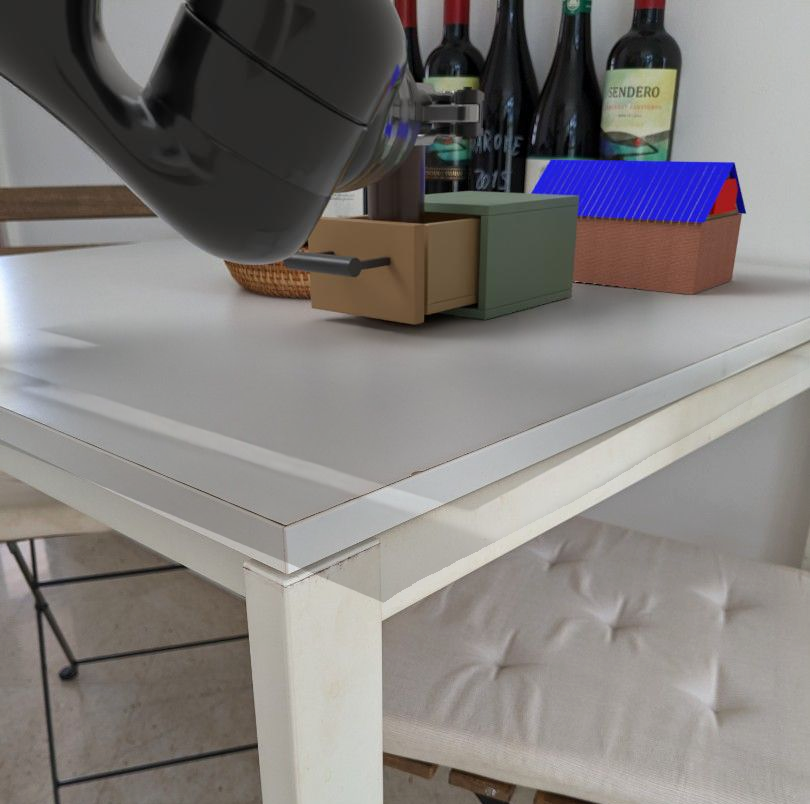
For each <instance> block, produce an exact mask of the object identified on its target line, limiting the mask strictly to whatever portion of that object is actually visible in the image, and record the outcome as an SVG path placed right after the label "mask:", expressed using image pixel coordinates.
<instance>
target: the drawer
mask: <svg viewBox="0 0 810 804" xmlns="http://www.w3.org/2000/svg"><path fill="white" fill-rule="evenodd" d="M481 216H482V215H467V214H451V213H435V212H425V224H417V223H403V222H389V221H376V220H368V214H362V215H360V214H359V215H351V216H340V217H334V216H333V217H332V216H321V218H320V220H319V222H318V223H317V225H316V227H315V229H314V230H313V232H312V234H311V236H310V237H309V239H308V240H307V243H308V245H307V246H308V251H300V250H299V251H298V252H297V253H296V254H294V255H293V256H291V257H290V258H287V259H285V260H282V262H283V265H284V267H285V268H286V269H287V270H293V271H300V272H301V271H302V272H309V282H310V283H309V284H310V285H309V286H310V300H311V301H310V306H311V309H315V310H321V311H325V312H326V311H327V312H333V313H339V314H346V315H353V316H358V317H364V318H369V319H370V318H371V319H376V320H382V321H383V320H384V321H390V322H396V323H402V324H408V325H420V324H423V323H424V322H425V316H428V315H433V314H438V313H437V312H441V311H446V310H450V309H454V308H458V307H462V306H466V305H470V304H474V303H478V298H479V266H480V234H481Z"/></svg>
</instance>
